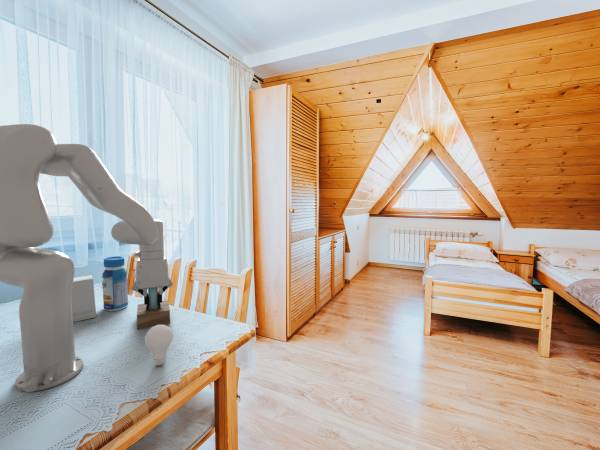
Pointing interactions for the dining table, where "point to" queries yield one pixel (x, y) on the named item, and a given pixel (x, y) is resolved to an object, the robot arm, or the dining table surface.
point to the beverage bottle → (114, 284)
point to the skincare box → (83, 298)
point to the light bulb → (159, 342)
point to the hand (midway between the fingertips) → (153, 304)
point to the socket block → (153, 315)
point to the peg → (153, 298)
